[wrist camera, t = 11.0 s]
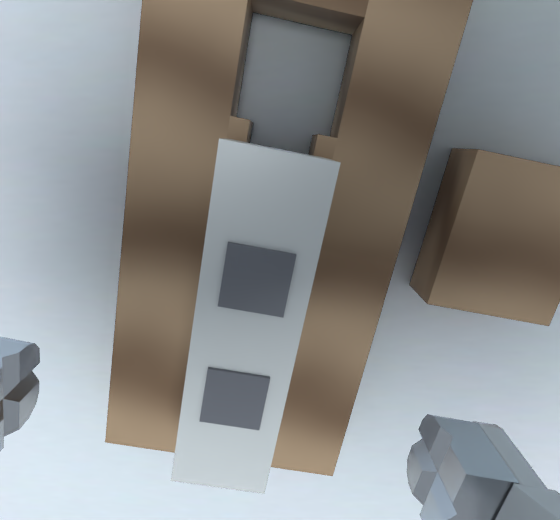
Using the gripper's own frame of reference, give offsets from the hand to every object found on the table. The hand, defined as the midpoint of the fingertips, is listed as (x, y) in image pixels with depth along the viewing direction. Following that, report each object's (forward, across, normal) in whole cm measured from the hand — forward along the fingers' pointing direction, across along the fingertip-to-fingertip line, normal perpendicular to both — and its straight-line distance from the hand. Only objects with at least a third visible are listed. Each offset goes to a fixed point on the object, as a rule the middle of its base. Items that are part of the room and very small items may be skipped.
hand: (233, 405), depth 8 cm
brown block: (+12, -11, -3) cm, 17 cm away
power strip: (+10, 0, +2) cm, 10 cm away
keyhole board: (+12, 0, -1) cm, 12 cm away
